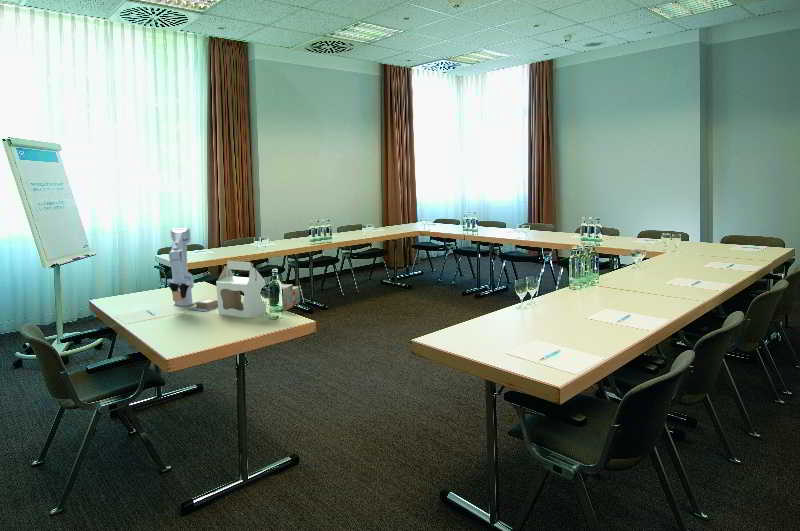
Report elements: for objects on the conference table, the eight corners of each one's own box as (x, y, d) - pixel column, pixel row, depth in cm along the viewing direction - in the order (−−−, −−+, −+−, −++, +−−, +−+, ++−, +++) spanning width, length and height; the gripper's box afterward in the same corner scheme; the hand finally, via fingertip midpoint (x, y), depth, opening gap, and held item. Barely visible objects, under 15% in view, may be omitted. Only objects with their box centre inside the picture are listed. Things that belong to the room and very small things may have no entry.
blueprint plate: (188, 310, 295) (187, 303, 295) (209, 303, 310) (209, 297, 309) (204, 311, 290) (204, 305, 290) (225, 305, 305) (225, 298, 304)
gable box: (267, 312, 286) (264, 260, 281) (250, 318, 274) (246, 264, 270) (236, 308, 296) (232, 258, 291) (218, 314, 284) (213, 262, 280)
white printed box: (290, 302, 310) (289, 281, 308) (300, 302, 309) (299, 281, 307) (274, 310, 289) (272, 288, 287) (284, 311, 288) (283, 288, 286)
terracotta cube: (173, 300, 289) (172, 291, 288) (180, 298, 293) (179, 289, 292) (179, 301, 287) (179, 292, 286) (187, 299, 291) (186, 290, 290)
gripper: (161, 273, 287) (164, 297, 289) (181, 274, 281) (184, 299, 283) (172, 270, 293) (174, 295, 295) (192, 272, 287) (194, 297, 289)
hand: (179, 297), depth 290 cm, fingers closed on terracotta cube, 5 cm apart
